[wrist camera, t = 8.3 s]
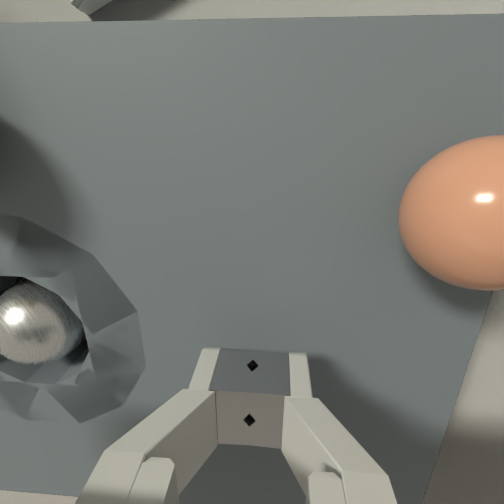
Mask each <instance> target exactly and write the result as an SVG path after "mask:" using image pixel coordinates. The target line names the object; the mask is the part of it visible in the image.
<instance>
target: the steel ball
mask: <svg viewBox="0 0 504 504" xmlns="http://www.w3.org/2000/svg"><path fill="white" fill-rule="evenodd" d="M84 337H85V331H84V327H83V323H82V321H81V320H80V319H79V318H78V317H77V316H76V314H75V313H74V312H73V311H72V310H71V309H70V307H69V306H68V305H67V304H66V303H65V302H64V300H63V299H62V298H61V297H60V296H59V295H58V294H56V293H54V292H52V291H50V290H48V289H46V288H44V287H43V286H41V285H39V284H37V283H35V282H33V281H31V280H25V281H23V282H20V283H18V284H16V285H14V286H12V287H11V288H9V289H8V290H7V291H5V292H4V293H3V294H2V295H1V296H0V354H1V355H2V356H4V357H6V358H7V359H9V360H12V361H14V362H17V363H22V364H30V365H32V364H44V363H48V362H52V361H54V360H57V359H60V358H61V357H63V356H65V355H67V354H68V353H70V352H71V351H72V350H73V349H75V348H76V347H77V346H78V345H79V344H80V343H81V341H82V340H83V338H84Z"/></svg>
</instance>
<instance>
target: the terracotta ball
mask: <svg viewBox="0 0 504 504" xmlns="http://www.w3.org/2000/svg"><path fill="white" fill-rule="evenodd" d="M398 227H399V233H400V236H401V239H402V242H403V244H404V246H405V248H406V250H407V252H408V253H409V255H410V256H411V257H412V259H413V260H414V261H415V262H416V263H417V264H418V265H419V266H420V267H421V268H422V269H424V270H425V271H426V272H428V273H429V274H431V275H432V276H434V277H435V278H437V279H439V280H441V281H444V282H446V283H448V284H451V285H454V286H458V287H462V288H466V289H472V290H485V291H490V290H503V289H504V135H493V136H484V137H478V138H474V139H470V140H467V141H464V142H461V143H458V144H455V145H453V146H451V147H449V148H447V149H445V150H443V151H442V152H440V153H438V154H437V155H435V156H434V157H432V158H431V159H430V160H428V161H427V162H426V163H425V164H424V165H423V166H422V167H421V168H420V169H419V170H418V171H417V172H416V173H415V174H414V175H413V177H412V178H411V180H410V181H409V183H408V184H407V186H406V188H405V190H404V192H403V195H402V197H401V200H400V204H399V210H398Z"/></svg>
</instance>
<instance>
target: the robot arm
mask: <svg viewBox="0 0 504 504" xmlns="http://www.w3.org/2000/svg"><path fill="white" fill-rule="evenodd" d="M217 444H236V445H252V446H261V447H269V448H278V449H281V451H282V453H283V455H284V456H285V458H286V460H287V462H288V464H289V466H290V468H291V469H292V471H293V473H294V475H295V477H296V479H297V481H298V482H299V484H300V486H301V488H302V490H303V492H304V494H305V496H306V501H305V504H397V501H396V498H395V495H394V492H393V489H392V486H391V483H390V480H389V476H388V475H387V474H386V473H385V472H384V471H383V469H382V468H381V467H380V466H379V465H378V464H377V463H376V462H375V461H374V459H373V458H372V457H371V456H370V455H369V454H368V453H367V452H366V451H365V450H364V448H363V447H362V446H361V445H360V444H359V443H358V442H357V441H356V440H355V438H354V437H353V436H352V435H351V434H350V433H349V432H348V431H347V430H346V428H345V427H344V426H343V425H342V424H341V423H340V422H339V421H338V420H337V418H336V417H335V416H334V415H333V414H332V413H331V412H330V411H329V410H328V408H327V407H326V406H325V405H324V404H323V403H322V402H321V401H320V400H319V398H313V395H312V388H311V380H310V373H309V365H308V358H307V354H306V353H301V352H289V353H288V352H270V351H254V350H242V349H230V348H214V347H204V348H203V349H202V351H201V354H200V357H199V360H198V363H197V365H196V368H195V371H194V374H193V377H192V380H191V382H190V385H189V388H188V389H182V390H181V391H179V392H178V393H177V394H176V395H174V396H173V397H172V398H171V399H169V400H168V401H167V402H165V403H164V404H163V405H162V406H160V407H159V408H158V409H157V410H155V411H154V412H153V413H151V414H150V415H149V416H148V417H146V418H145V419H144V420H143V421H141V422H140V423H139V424H137V425H136V426H135V427H134V428H132V429H131V430H130V431H129V432H127V433H126V434H125V435H123V436H122V437H121V438H120V439H118V440H117V441H116V442H114V443H113V444H112V445H111V446H109V447H108V448H107V449H106V450H104V452H103V454H102V455H101V457H100V459H99V461H98V463H97V465H96V466H95V468H94V470H93V472H92V474H91V475H90V477H89V479H88V481H87V483H86V485H85V486H84V488H83V490H82V492H81V494H80V495H79V497H78V499H77V501H76V503H75V504H180V503H179V494H180V493H181V492H182V491H183V489H184V488H185V487H186V485H187V484H188V483H189V482H190V480H191V479H192V478H193V476H194V475H195V474H196V473H197V471H198V470H199V469H200V468H201V466H202V465H203V464H204V462H205V461H206V460H207V459H208V457H209V456H210V455H211V453H212V452H213V451H214V450H215V448H216V447H217Z"/></svg>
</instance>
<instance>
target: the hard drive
mask: <svg viewBox="0 0 504 504" xmlns="http://www.w3.org/2000/svg"><path fill="white" fill-rule="evenodd" d="M111 1H112V0H70V2H71V4H72V5H74V6H75V7H76V8H77V9H79V10H80V11H82V12H83V13H85V14H87V15H90V14H92V13H93V12H95V11H97V10H98V9H100V8H101V7H103V6H104V5H106V4H108V3H109V2H111Z"/></svg>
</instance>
